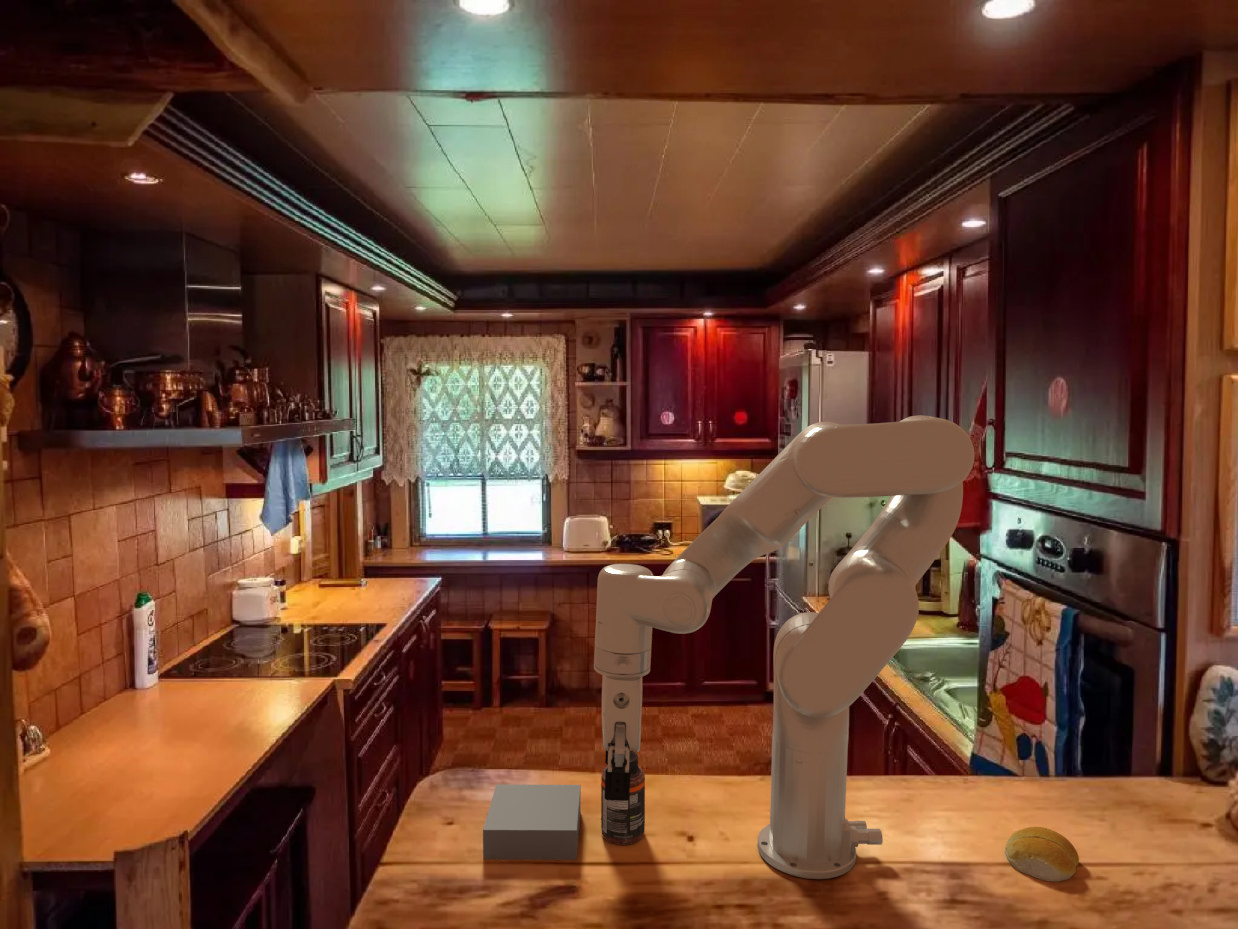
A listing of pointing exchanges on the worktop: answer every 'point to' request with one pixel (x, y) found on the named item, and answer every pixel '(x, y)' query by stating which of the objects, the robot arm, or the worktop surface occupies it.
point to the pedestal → (532, 823)
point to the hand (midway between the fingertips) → (616, 781)
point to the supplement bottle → (625, 808)
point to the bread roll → (1042, 854)
